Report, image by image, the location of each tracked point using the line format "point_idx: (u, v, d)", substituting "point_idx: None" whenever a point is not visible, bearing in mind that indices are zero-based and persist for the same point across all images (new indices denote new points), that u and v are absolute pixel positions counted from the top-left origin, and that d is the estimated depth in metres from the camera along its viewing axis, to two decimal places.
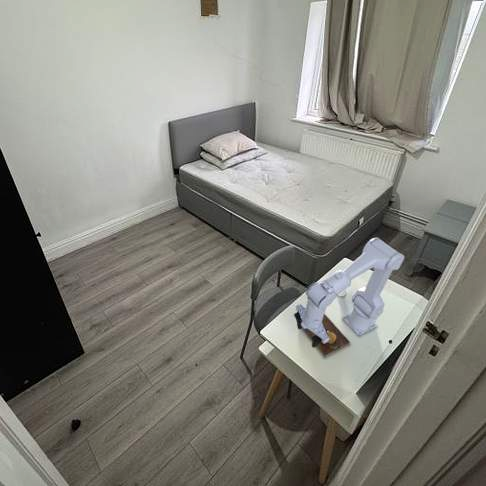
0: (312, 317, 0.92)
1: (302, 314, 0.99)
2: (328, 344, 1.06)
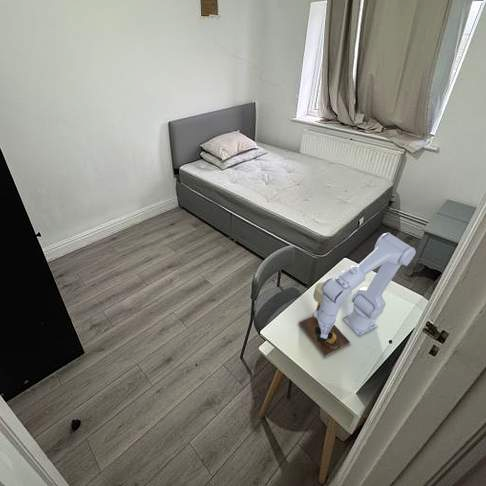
0: (327, 312, 0.93)
1: None
2: (328, 344, 1.06)
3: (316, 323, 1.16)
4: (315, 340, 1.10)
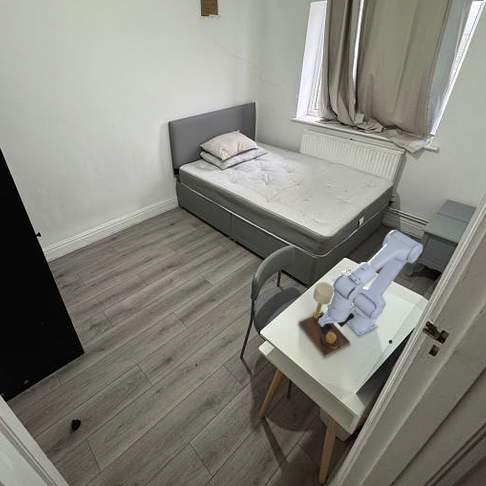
0: (339, 309, 0.94)
1: None
2: (328, 344, 1.06)
3: (316, 323, 1.16)
4: (315, 340, 1.10)
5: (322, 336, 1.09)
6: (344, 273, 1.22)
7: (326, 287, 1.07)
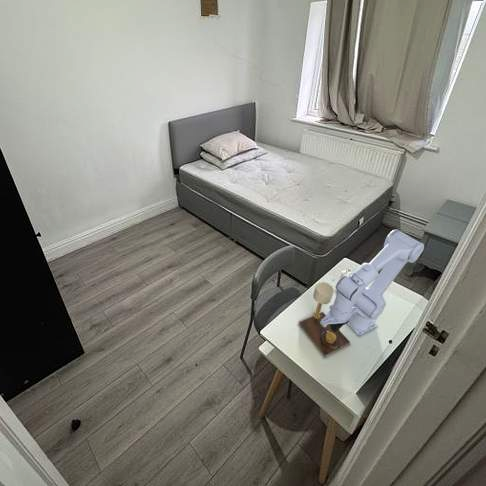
0: (342, 310, 0.94)
1: None
2: (328, 344, 1.06)
3: (316, 323, 1.16)
4: (315, 340, 1.10)
5: (322, 336, 1.09)
6: (344, 273, 1.22)
7: (326, 287, 1.07)
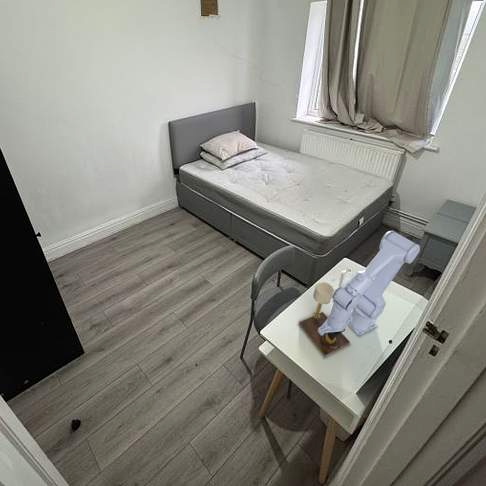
0: (338, 319, 0.97)
1: None
2: (328, 344, 1.06)
3: (316, 323, 1.16)
4: (315, 340, 1.10)
5: (322, 336, 1.09)
6: (344, 273, 1.22)
7: (326, 287, 1.07)
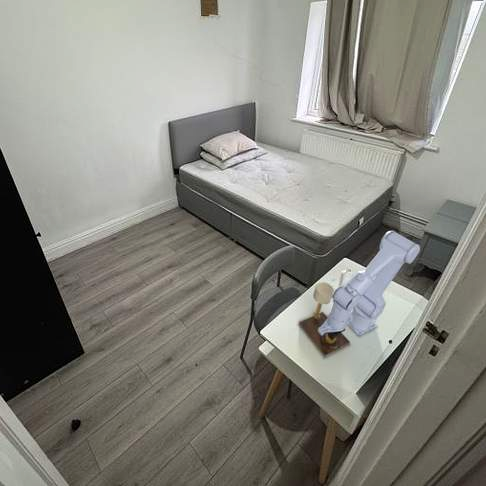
0: (338, 319, 0.97)
1: None
2: (328, 344, 1.06)
3: (316, 323, 1.16)
4: (315, 340, 1.10)
5: (322, 336, 1.09)
6: (344, 273, 1.22)
7: (326, 287, 1.07)
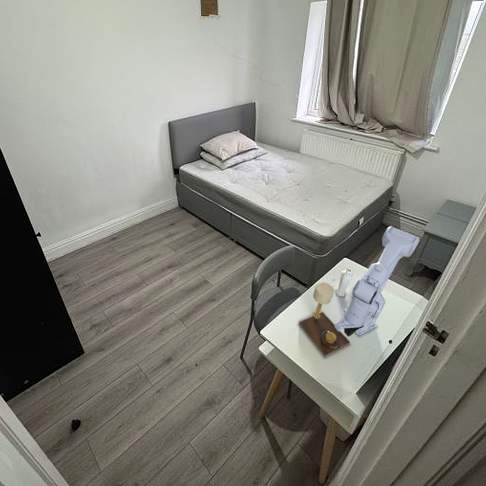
0: (360, 315, 0.92)
1: None
2: (328, 344, 1.06)
3: (316, 323, 1.16)
4: (315, 340, 1.10)
5: (322, 336, 1.09)
6: (344, 273, 1.22)
7: (326, 287, 1.07)
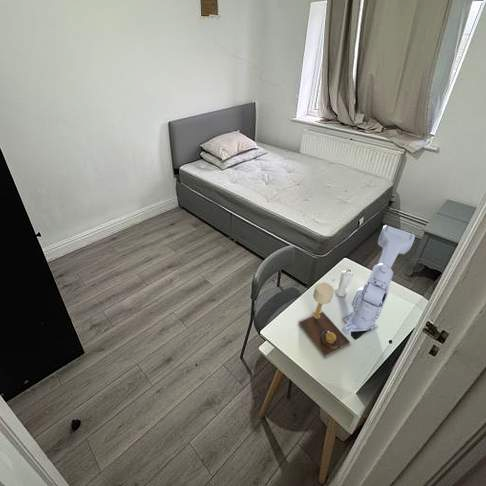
0: (369, 318, 0.91)
1: None
2: (328, 344, 1.06)
3: (316, 323, 1.16)
4: (315, 340, 1.10)
5: (322, 336, 1.09)
6: (344, 273, 1.22)
7: (326, 287, 1.07)
